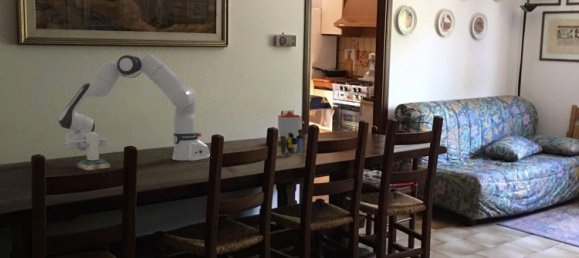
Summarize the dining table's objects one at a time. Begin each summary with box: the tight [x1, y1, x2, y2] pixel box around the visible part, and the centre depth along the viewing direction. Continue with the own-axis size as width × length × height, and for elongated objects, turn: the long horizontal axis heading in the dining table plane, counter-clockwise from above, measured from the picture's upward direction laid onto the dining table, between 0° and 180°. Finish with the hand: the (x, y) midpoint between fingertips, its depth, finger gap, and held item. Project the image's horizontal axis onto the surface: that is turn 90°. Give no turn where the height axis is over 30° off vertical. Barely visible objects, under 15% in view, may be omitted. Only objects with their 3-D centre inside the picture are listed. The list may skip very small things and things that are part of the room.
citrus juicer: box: [277, 110, 305, 142], centre depth 391 cm, size 16×17×20 cm
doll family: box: [278, 128, 306, 157], centre depth 344 cm, size 23×9×13 cm, turn 160°
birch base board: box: [76, 157, 111, 171], centre depth 304 cm, size 12×12×4 cm
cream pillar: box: [86, 131, 100, 160], centre depth 303 cm, size 4×4×14 cm
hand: (93, 144), depth 302 cm, fingers closed on cream pillar, 4 cm apart
